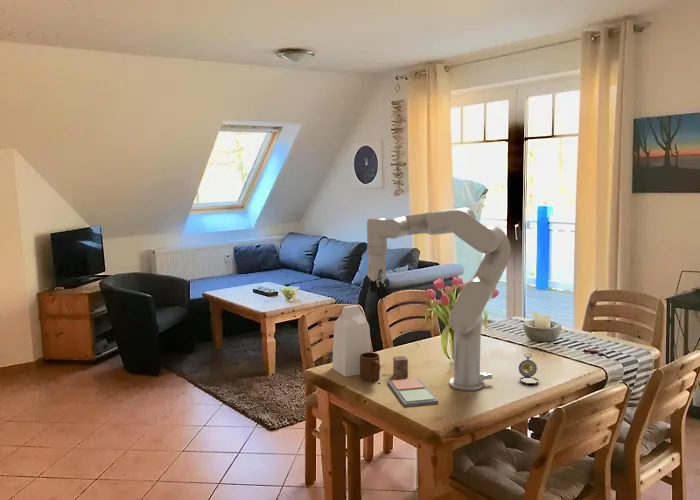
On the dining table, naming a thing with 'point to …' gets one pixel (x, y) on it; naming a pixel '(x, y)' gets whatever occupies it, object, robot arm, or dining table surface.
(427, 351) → the dining table surface
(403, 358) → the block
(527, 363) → the pocket watch
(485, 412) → the dining table surface
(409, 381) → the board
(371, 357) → the mug
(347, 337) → the milk
